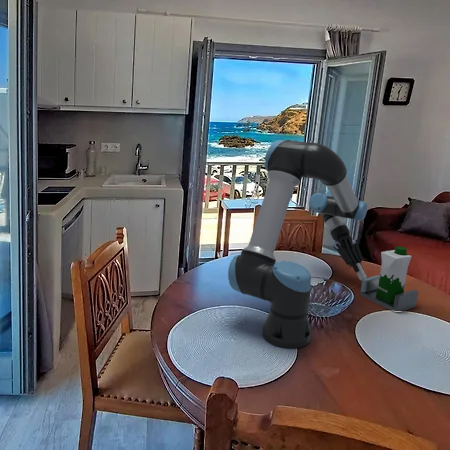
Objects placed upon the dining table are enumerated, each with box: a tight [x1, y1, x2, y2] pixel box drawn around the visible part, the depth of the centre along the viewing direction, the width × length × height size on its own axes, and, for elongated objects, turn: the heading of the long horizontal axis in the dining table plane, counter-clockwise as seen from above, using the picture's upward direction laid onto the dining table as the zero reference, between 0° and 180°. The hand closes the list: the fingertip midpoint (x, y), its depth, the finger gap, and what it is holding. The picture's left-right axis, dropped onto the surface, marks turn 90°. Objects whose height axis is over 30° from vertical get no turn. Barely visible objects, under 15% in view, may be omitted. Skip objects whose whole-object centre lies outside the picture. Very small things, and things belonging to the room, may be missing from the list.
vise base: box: [360, 289, 419, 312], centre depth 167 cm, size 17×11×6 cm, turn 32°
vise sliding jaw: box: [360, 274, 380, 292], centre depth 173 cm, size 2×11×5 cm, turn 122°
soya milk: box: [376, 246, 412, 303], centre depth 164 cm, size 9×9×20 cm
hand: (363, 278), depth 177 cm, fingers closed
